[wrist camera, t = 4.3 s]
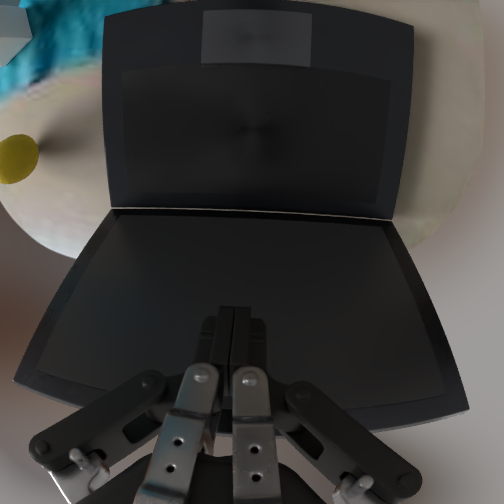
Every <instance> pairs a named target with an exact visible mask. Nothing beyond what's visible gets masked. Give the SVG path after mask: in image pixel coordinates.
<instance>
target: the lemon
mask: <svg viewBox="0 0 504 504" xmlns="http://www.w3.org/2000/svg"><path fill="white" fill-rule="evenodd" d="M38 157H39V152H38V147H37V144H36V142H35V141H34V140H33V139H32V138H31V137H29V136H27V135H23V134H20V135H13V136H10V137H8V138H6V139H5V140H3V141H2V142H0V183H3V184H12V183H17V182H19V181H21V180H23V179H25V178H26V177H28V176H29V175H30V174H31V172H32V171H33V170H34V169H35V167H36V165H37V162H38Z"/></svg>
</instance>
